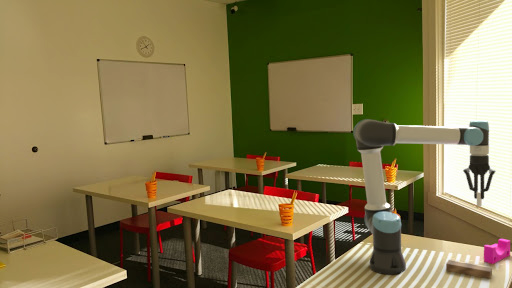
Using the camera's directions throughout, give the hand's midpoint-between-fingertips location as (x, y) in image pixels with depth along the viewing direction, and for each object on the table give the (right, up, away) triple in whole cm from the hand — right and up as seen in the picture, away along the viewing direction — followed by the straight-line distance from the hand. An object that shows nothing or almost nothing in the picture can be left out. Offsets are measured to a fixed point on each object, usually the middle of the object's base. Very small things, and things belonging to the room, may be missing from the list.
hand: (479, 205), depth 184 cm
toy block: (+4, -23, -5) cm, 24 cm away
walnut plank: (-14, -25, -18) cm, 34 cm away
